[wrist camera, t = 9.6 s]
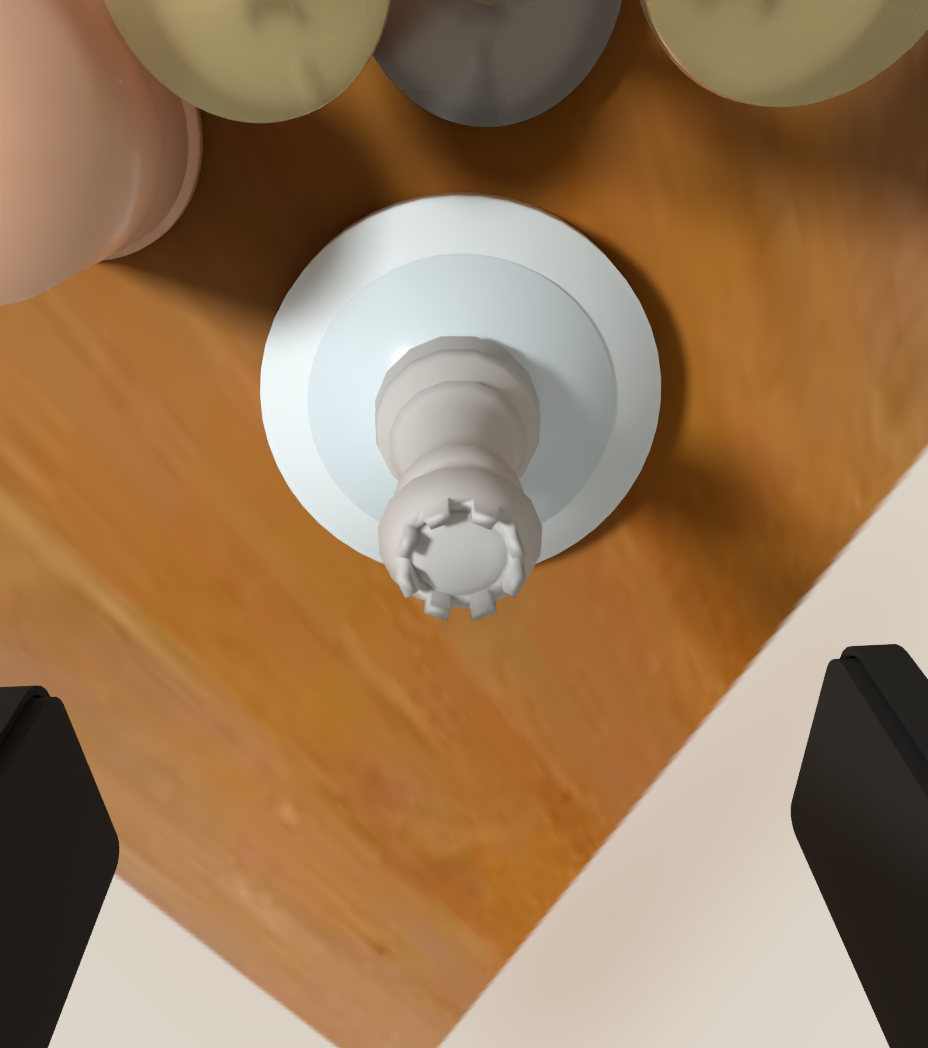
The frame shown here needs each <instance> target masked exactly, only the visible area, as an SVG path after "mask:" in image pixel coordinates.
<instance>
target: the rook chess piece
mask: <svg viewBox="0 0 928 1048" xmlns="http://www.w3.org/2000/svg"><path fill="white" fill-rule="evenodd" d="M539 406H540V401H539V398H538V396H537V393H536V390H535V388H534V385H533V382H532V380H531V377H530V374H529V372H528V371H527V370H526V369H525V368H524V367H523V366H522V365H521V364H520V363H519V362H518V361H517V360H516V359H515V358H514V357H513V356H512V355H511V354H510V353H509V352H508V351H507V350H506V349H504V348H502V347H499V346H497V345H495V344H492V343H490V342H487V341H485V340H482V339H480V338H478V337H475V336H440V337H438V338H435V339H433V340H430V341H428V342H425V343H423V344H420V345H418V346H415V347H413V348H410V349H409V350H408V351H407V352H406V353H405V354H404V355H403V356H402V357H401V358H400V359H399V360H398V361H397V362H396V363H395V364H394V365H393V366H392V367H391V368H390V369H389V370H388V371H387V372H386V374H385V377H384V379H383V382H382V384H381V387H380V390H379V392H378V395H377V397H376V400H375V426H376V444H377V446H378V448H379V450H380V452H381V454H382V456H383V458H384V460H385V462H386V464H387V466H388V468H389V470H390V472H391V474H392V476H393V477H394V478H396V479H397V480H398V481H399V483H398V485H397V488H396V490H395V492H394V496H393V497H392V498H391V499H390V500H389V502H388V504H387V507H386V509H385V511H384V514H383V516H382V518H381V521H380V523H379V525H378V539H379V555H380V557H381V559H382V561H383V563H384V564H385V566H386V568H387V570H388V572H389V574H390V576H391V577H392V579H393V580H394V581H395V582H396V583H398V585H399V587H400V589H401V590H402V592H403V594H404V596H405V598H407V597H409V596H411V595H412V596H414V597H415V598H417V599H420V600H423V601H425V606H424V613H425V614H428V615H431V616H434V617H437V618H440V619H443V620H446V621H448V618H449V614H450V609H451V608H470V610H471V614H472V619H473V621H474V620H477V619H480V618H483V617H486V616H489V615H492V614H495V613H497V612H496V600H499V599H502V598H504V597H506V596H507V595H508V594H509V595H511V596H512V597H514V598H516V596H517V594H518V592H519V590H520V588H521V587H522V585H523V583H524V581H526V580H527V578H528V577H529V575H530V573H531V571H532V569H533V567H534V566H535V564H536V562H537V560H538V558H539V557H540V555H541V540H542V525H541V522H540V520H539V517H538V515H537V513H536V510H535V508H534V505H533V503H532V500H531V499H530V498H529V497H528V496H526V495H525V493H524V491H523V488H522V486H521V483H520V481H519V479H520V478H521V477H522V476H523V474H524V472H525V470H526V468H527V467H528V465H529V463H530V461H531V459H532V457H533V455H534V453H535V451H536V449H537V447H538V445H539V429H540V412H539Z"/></svg>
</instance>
